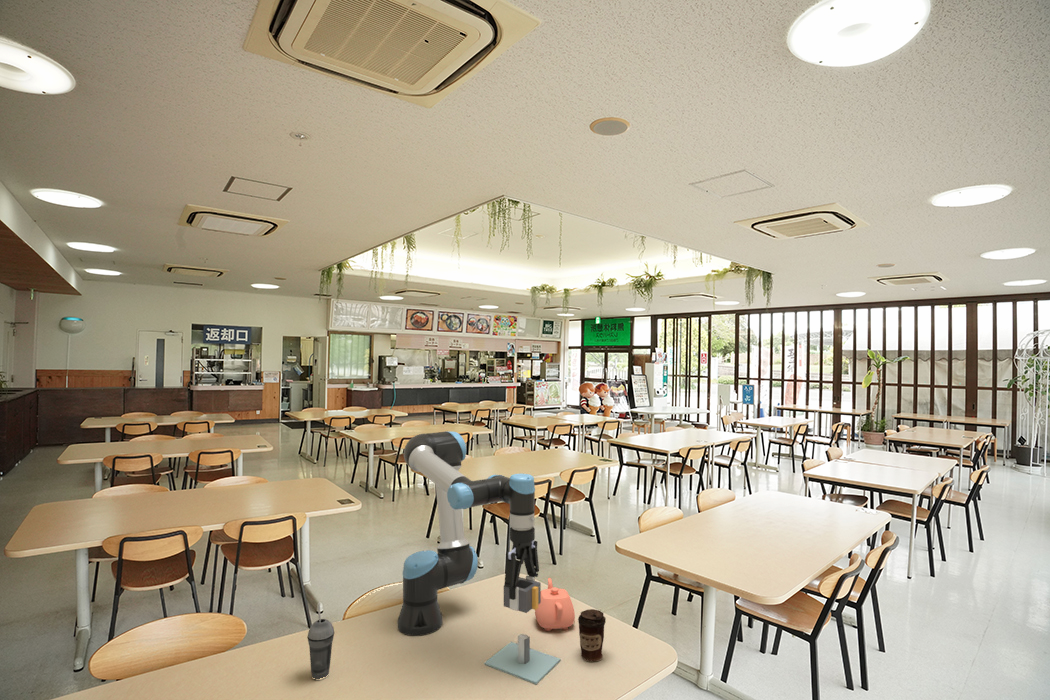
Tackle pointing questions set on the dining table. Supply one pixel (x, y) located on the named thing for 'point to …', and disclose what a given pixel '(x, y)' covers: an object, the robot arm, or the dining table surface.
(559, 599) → the teapot
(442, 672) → the dining table surface
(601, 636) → the coffee cup
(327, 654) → the beverage cup
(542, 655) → the board
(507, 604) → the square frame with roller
